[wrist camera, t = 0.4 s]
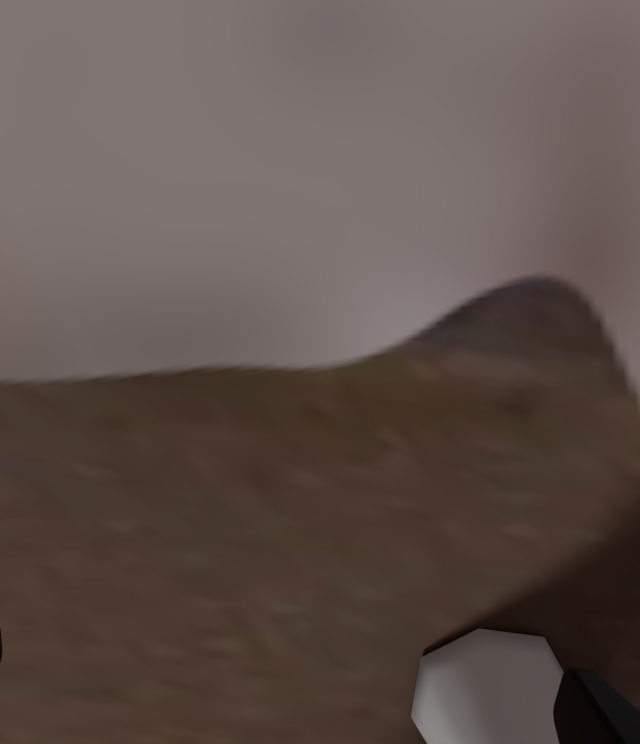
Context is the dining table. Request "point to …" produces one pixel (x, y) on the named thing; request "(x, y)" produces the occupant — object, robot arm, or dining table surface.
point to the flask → (488, 690)
